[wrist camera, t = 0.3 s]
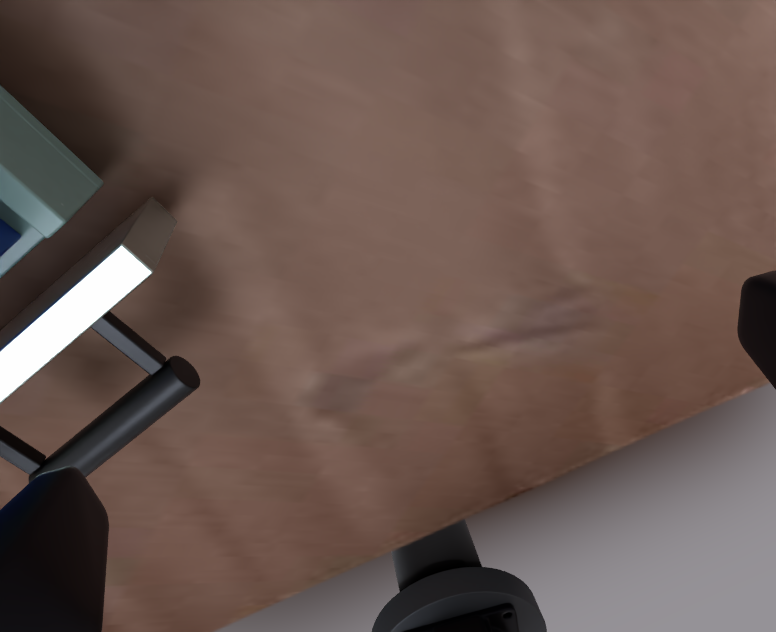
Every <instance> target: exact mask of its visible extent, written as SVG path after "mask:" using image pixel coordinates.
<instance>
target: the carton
mask: <svg viewBox="0 0 776 632" xmlns="http://www.w3.org/2000/svg"><path fill="white" fill-rule="evenodd" d="M20 239H21V235H20V234H19V233H18V232H16V231H15V230H14V229H13V228H12V227H10V226H9V225H8V224H7V223H6V222H4V221H3V220H2V219H1V218H0V257H1V256H2V255H3V254H4V253H5V252H6V251H7V250H9V249H10V248H11V247H12V246H13V245H14V244H15V243H16V242H17V241H18V240H20Z"/></svg>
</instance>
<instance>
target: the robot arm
mask: <svg viewBox="0 0 776 632" xmlns="http://www.w3.org/2000/svg"><path fill="white" fill-rule="evenodd" d="M738 337H739V340H740V343H741V345H742V346H743V348H744V349H745V351H746V352H747V353H748V355H749V356H750V357H751V358H752V360H753V361H754V362H755V364H756V365H757V366H758V367H759V369H760V370H761V371H762V372H763V374H764V375H765V376H766V378H767V379H768V380H769V381H770V383H771V384H772V385H773V387H774V388H775V389H776V271H771V272H767V273H764V274H760V275H757V276H753V277H750V278H748V279H747V280H746V281H745V282H744V284H743V286H742V290H741V299H740V309H739V318H738ZM108 533H109V522H108V516H107V513H106V510H105V508H104V506H103V504H102V503H101V501H100V500H99V498H98V497H97V495H96V494H95V492H94V491H93V489H92V488H91V486H90V484H89V483H88V481H87V480H86V478H85V477H84V475H83V474H82V473H81V471H80V470H79V469H77V468H76V467H72V466H67V467H63V468H60V469H56V470H52V471H49V472H45V473H42V474H40V475H38V476H37V477H36V478H35V479H34V480H32V481H31V482H30V483H29V484H28V485H27V486H26V487H25V488H24V489H23V490H22V491H20V492H19V493H18V494H17V495H16V496H15V497H14V498H13V499H12V500H11V501H10V502H8V503H7V504H6V505H5V506H4V507H3V508H2V509H1V510H0V632H102V622H103V607H104V592H105V577H106V562H107V547H108ZM403 632H519V628H518V620H517V613H516V611H515V608H514V606H513V604H511V603H503V604H500V605H496V606H492V607H489V608H485V609H482V610H478V611H474V612H471V613H467V614H464V615H460V616H457V617H453V618H449V619H446V620H442V621H439V622H435V623H432V624H428V625H424V626H421V627H417V628H414V629H410V630H406V631H403Z"/></svg>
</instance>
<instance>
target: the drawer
mask: <svg viewBox="0 0 776 632" xmlns="http://www.w3.org/2000/svg"><path fill="white" fill-rule="evenodd" d="M103 184H104V182H103V181H102V180H101V179H100V178H99V177H98V176H97V175H96V174H95V173H94V172H93V171H92V170H90V169H89V168H88V167H87V166H86V165H85V164H84V163H83V162H82V161H81V160H80V159H79V158H78V157H77V156H76V155H74V154H73V153H72V152H71V151H70V150H69V149H68V148H67V147H66V146H65V145H64V144H63V143H62V142H61V141H60V140H58V139H57V138H56V137H55V136H54V135H53V134H52V133H51V132H50V131H49V130H48V129H47V128H46V127H45V126H44V125H42V124H41V123H40V122H39V121H38V120H37V119H36V118H35V117H34V116H33V115H32V114H31V113H30V112H29V111H27V110H26V109H25V108H24V107H23V106H22V105H21V104H20V103H19V102H18V101H17V100H16V99H15V98H14V97H13V96H11V95H10V94H9V93H8V92H7V91H6V90H5V89H4V88H3V87H2V86H1V85H0V218H1V219H2V220H3V221H4V222H6V223H7V224H8V225H9V226H10V227H12V228H13V229H14V230H15V231H16V232H18V233H19V234H20V235H21V239H20V240H18V241H17V242H16V243H15V244H14V245H13V246H12V247H11V248H10V249H9V250H7V251H6V252H5V253H4V254H3V255H2V256H1V257H0V278H1V277H2V276H4V275H5V274H6V273H7V272H8V271H9V270H10V269H11V268H12V267H14V266H15V265H16V264H17V263H18V262H19V261H20V260H21V259H22V258H23V257H25V256H26V255H27V254H28V253H29V252H30V251H31V250H32V249H33V248H35V247H36V246H37V245H38V244H39V243H40V242H41V241H42V240H43V239H45V238H50V237H51V236H52V235H53V234H54V233H56V232H57V231H58V230H59V229H60V228H61V227H62V226H63V225H64V224H66V223H67V222H68V221H69V220H70V218H71V217H72V216H73V215H74V214H75V213H76V212H77V211H78V210H79V209H80V208H81V207H82V206H83V205H84V204H85V203H86V202H87V201H88V200H89V199H90V198H91V197H92V196H93V195H94V194H95V193H96V192H97V191H98V190H99V189H100V188H101V187H102V186H103ZM176 223H177V220H176V219H175V218H174V217H173V216H172V215H171V214H170V213H169V212H168V211H167V210H166V209H165V208H164V207H163V206H161V205H160V204H159V203H158V202H157V201H156V200H155V199H154V198H153V197H151V198H150V199H149V200H147V201H146V202H145V203H144V204H143V205H142V206H141V207H139V208H138V209H137V210H136V211H135V212H134V213H133V214H132V215H130V216H129V217H128V218H127V219H126V220H125V221H124V222H122V223H121V224H120V225H119V226H118V227H117V228H116V229H115V230H113V231H112V232H111V233H110V234H109V235H108V236H107V237H105V238H104V239H103V240H102V241H101V242H100V243H99V244H98V245H96V246H95V247H94V248H93V249H92V250H91V251H90V252H88V253H87V254H86V255H85V256H84V257H83V258H82V259H81V260H79V261H78V262H77V263H76V264H75V265H74V266H73V267H71V268H70V269H69V270H68V271H67V272H66V273H65V274H64V275H62V276H61V277H60V278H59V279H58V280H57V281H56V282H54V283H53V284H52V285H51V286H50V287H49V288H48V289H47V290H45V291H44V292H43V293H42V294H41V295H40V296H39V297H37V298H36V299H35V300H34V301H33V302H32V303H31V304H30V305H28V306H27V307H26V308H25V309H24V310H23V311H22V312H20V313H19V314H18V315H17V316H16V317H15V318H14V319H13V320H11V321H10V322H9V323H8V324H7V325H6V326H5V327H3V328H2V329H1V330H0V404H1V403H2V402H3V401H4V400H6V399H7V398H8V397H9V396H10V395H11V394H13V393H14V392H15V391H16V390H17V389H18V388H20V387H21V386H22V385H23V384H24V383H25V382H27V381H28V380H29V379H30V378H31V377H32V376H34V375H35V374H36V373H37V372H38V371H40V370H41V369H42V368H43V367H44V366H45V365H47V364H48V363H49V362H50V361H51V360H52V359H54V358H55V357H56V356H57V355H58V354H59V353H61V352H62V351H63V350H64V349H65V348H66V347H68V346H69V345H70V344H71V343H72V342H74V341H75V340H76V339H77V338H78V337H79V336H81V335H82V334H83V333H84V332H85V331H86V330H88V329H89V328H90V327H91V328H92V329H93V330H95V331H96V332H97V333H98V334H100V335H101V336H102V337H103V338H105V339H106V340H107V341H108V342H110V343H111V344H112V345H114V346H115V347H116V348H117V349H119V350H120V351H121V352H122V353H124V354H125V355H126V356H127V357H129V358H130V359H131V360H132V361H134V362H135V363H136V364H137V365H139V366H140V367H141V368H142V369H144V370H145V371H146V372H147V373H149V374H150V375H148V376H147V377H146V378H145V379H144V380H142V381H141V382H140V383H139V384H137V385H136V386H135V387H134V388H133V389H131V390H130V391H129V392H128V393H126V394H125V395H124V396H123V397H122V398H120V399H119V400H118V401H117V402H115V403H114V404H113V405H112V406H110V407H109V408H108V409H107V410H106V411H104V412H103V413H102V414H101V415H99V416H98V417H97V418H96V419H95V420H93V421H92V422H91V423H90V424H88V425H87V426H86V427H85V428H84V429H82V430H81V431H80V432H79V433H77V434H76V435H75V436H74V437H73V438H71V439H70V440H69V441H68V442H66V443H65V444H64V445H63V446H62V447H60V448H59V449H58V450H57V451H55V452H54V453H53V454H52V455H50V456H49V457H48V458H47V459H46V460H45V458H46V456H45V455H44V454H42V453H41V452H39V451H38V450H36V449H35V448H33V447H32V446H30V445H29V444H27V443H25V442H24V441H22V440H21V439H19V438H18V437H16V436H15V435H13V434H12V433H10V432H9V431H7V430H6V429H4V428H3V427H1V426H0V456H1V457H2V458H4V459H5V460H7V461H9V462H10V463H12V464H13V465H15V466H16V467H18V468H20V469H21V470H23V471H24V472H26V473H28V474H29V483H30V482H31V481H32V480H34V479H35V478H36V477H37V476H38V475H40V474H42V473H45V472H49V471H52V470H56V469H60V468H63V467H67V466H72V467H76V468H77V469H79V470H80V471H81V473H82V474H83V475H84V477H85V478H86V477H87V476H88V475H89V474H91V473H92V472H93V471H94V470H96V469H97V468H98V467H99V466H101V465H102V464H103V463H104V462H106V461H107V460H108V459H109V458H111V457H112V456H113V455H114V454H116V453H117V452H118V451H119V450H121V449H122V448H123V447H124V446H126V445H127V444H128V443H129V442H131V441H132V440H133V439H134V438H136V437H137V436H138V435H139V434H141V433H142V432H143V431H144V430H146V429H147V428H148V427H149V426H151V425H152V424H153V423H154V422H156V421H157V420H158V419H160V418H161V417H162V416H163V415H165V414H166V413H167V412H168V411H170V410H171V409H172V408H173V407H175V406H176V405H177V404H178V403H180V402H181V401H182V400H183V399H185V398H186V397H187V396H188V395H190V394H191V393H192V392H193V391H195V390H196V389H197V388H198V387H199V386H200V378H199V375H198V373H197V371H196V370H195V369H194V367H193V366H192V365H191V364H190V363H189V362H188V361H187V360H185V359H184V358H182V357H179V356H172V357H170V358H169V359H168V360H167V361H166V357H165V356H163V355H162V354H161V353H160V352H159V351H157V350H156V349H155V348H154V347H152V346H151V345H150V344H149V343H148V342H146V341H145V340H144V339H143V338H142V337H140V336H139V335H138V334H137V333H135V332H134V331H133V330H132V329H131V328H129V327H128V326H127V325H126V324H125V323H123V322H122V321H121V320H120V319H118V318H117V317H116V316H115V315H114V314H112V313H111V312H110V310H111V309H112V308H113V307H115V306H116V305H117V304H118V303H119V302H120V301H122V300H123V299H124V298H125V297H126V296H127V295H129V294H130V293H131V292H132V291H133V290H134V289H136V288H137V287H138V286H139V285H140V284H141V283H143V282H144V281H145V280H146V279H147V278H149V277H150V276H151V275H152V274H153V273H154V271H155V269H156V267H157V265H158V262H159V260H160V258H161V256H162V254H163V252H164V249H165V247H166V245H167V243H168V241H169V239H170V236H171V234H172V232H173V230H174V228H175V226H176ZM165 361H166V362H165Z"/></svg>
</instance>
